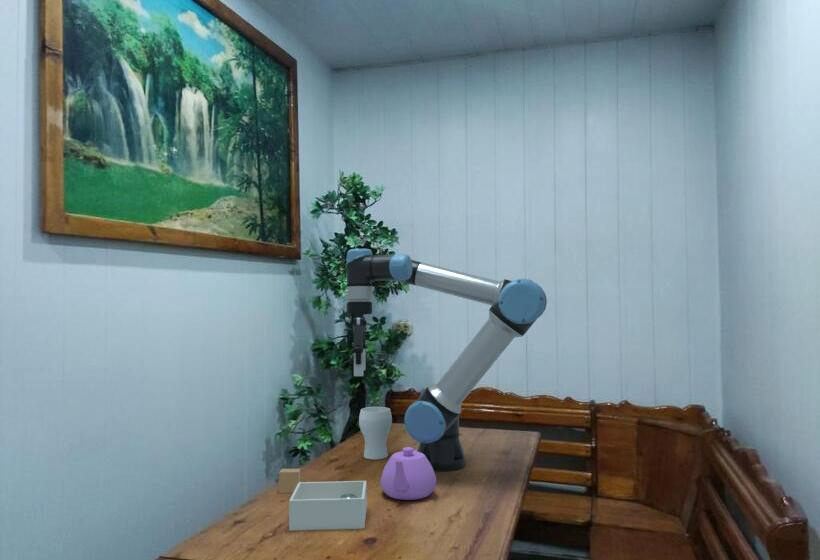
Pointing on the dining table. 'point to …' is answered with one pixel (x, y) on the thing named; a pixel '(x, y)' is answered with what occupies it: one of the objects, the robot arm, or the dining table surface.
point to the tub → (328, 506)
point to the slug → (348, 496)
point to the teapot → (408, 475)
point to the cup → (375, 431)
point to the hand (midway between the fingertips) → (360, 373)
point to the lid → (289, 480)
